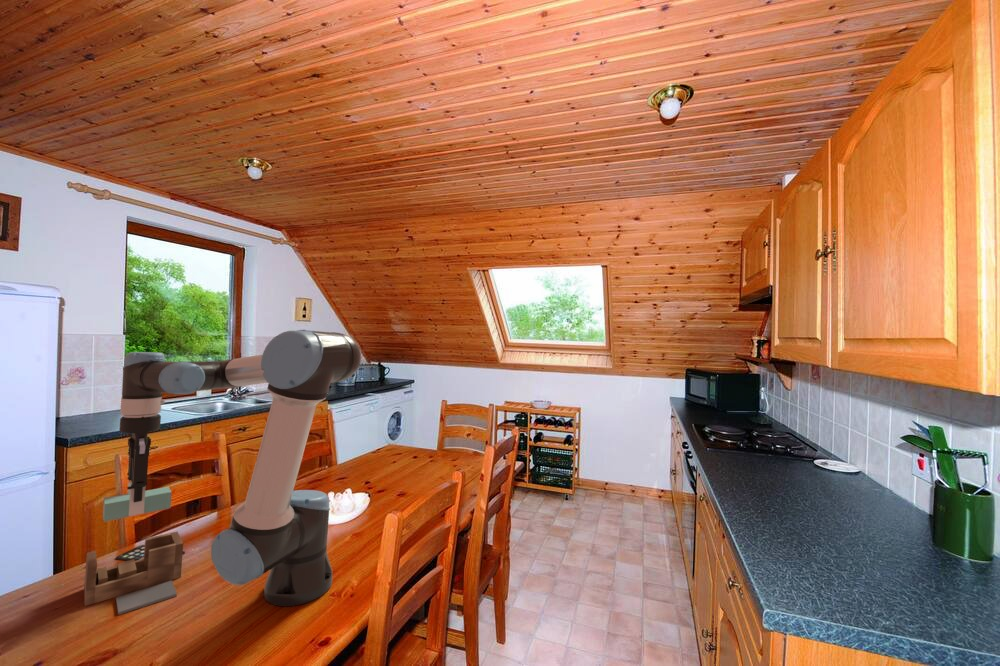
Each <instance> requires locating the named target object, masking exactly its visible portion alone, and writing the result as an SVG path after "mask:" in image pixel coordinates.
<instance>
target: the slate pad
mask: <svg viewBox="0 0 1000 666" xmlns="http://www.w3.org/2000/svg"><path fill="white" fill-rule="evenodd" d="M177 594H178V593H177V591H176V588H175V585H174V582H173V580H170V581H167V582H163V583H160V584H157V585H154V586H150V587H147V588H144V589H140V590H137V591H134V592H130V593H127V594H124V595H120V596H117V597H115V601H116V609H117V615H118V616H120V615H122V614H126V613H129V612H133V611H136V610H137V609H138V610H139V609H141V608H145V607H146V606H151V605H153V604H157V603H159V602H162V601H167V600H169V599H172V598H176V597H177Z"/></svg>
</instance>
